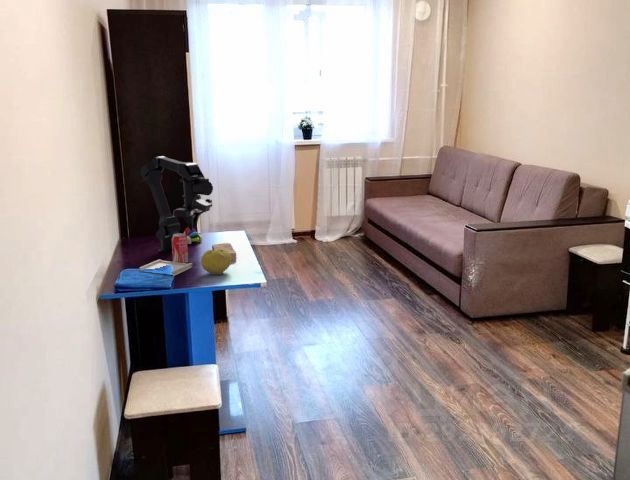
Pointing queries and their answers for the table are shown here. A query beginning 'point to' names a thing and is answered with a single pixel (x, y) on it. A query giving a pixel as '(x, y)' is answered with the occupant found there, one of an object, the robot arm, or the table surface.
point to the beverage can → (180, 248)
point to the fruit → (216, 261)
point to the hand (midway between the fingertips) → (192, 229)
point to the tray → (176, 266)
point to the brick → (226, 247)
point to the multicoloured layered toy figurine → (192, 236)
